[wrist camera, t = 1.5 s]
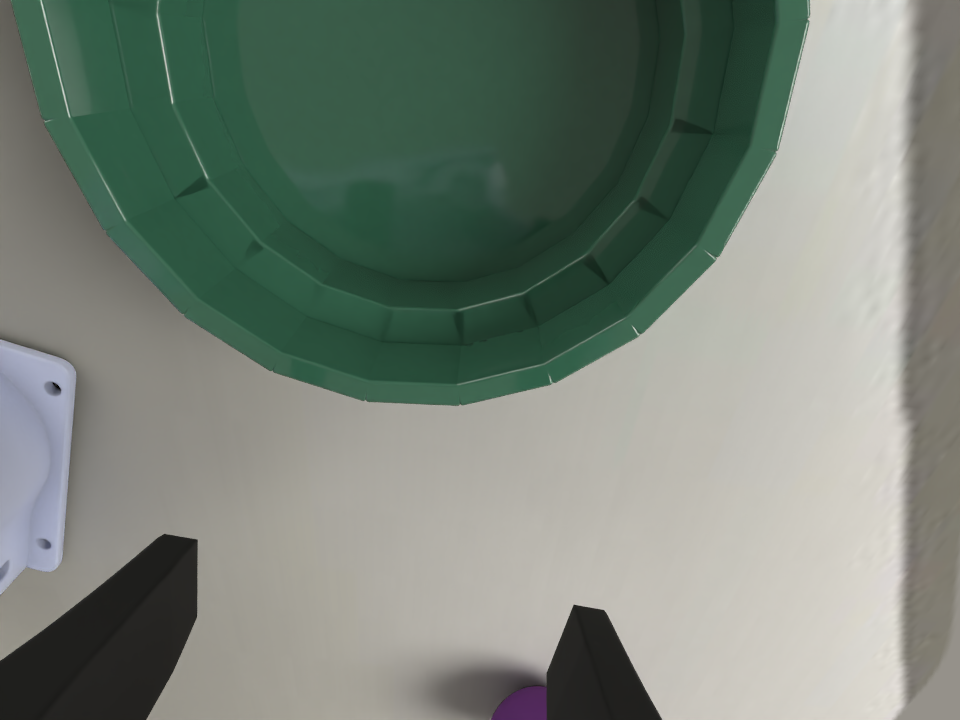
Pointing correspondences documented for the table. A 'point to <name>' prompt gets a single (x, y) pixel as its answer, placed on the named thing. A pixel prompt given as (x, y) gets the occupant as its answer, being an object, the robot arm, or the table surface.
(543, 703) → the ball
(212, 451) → the table surface
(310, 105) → the bowl
